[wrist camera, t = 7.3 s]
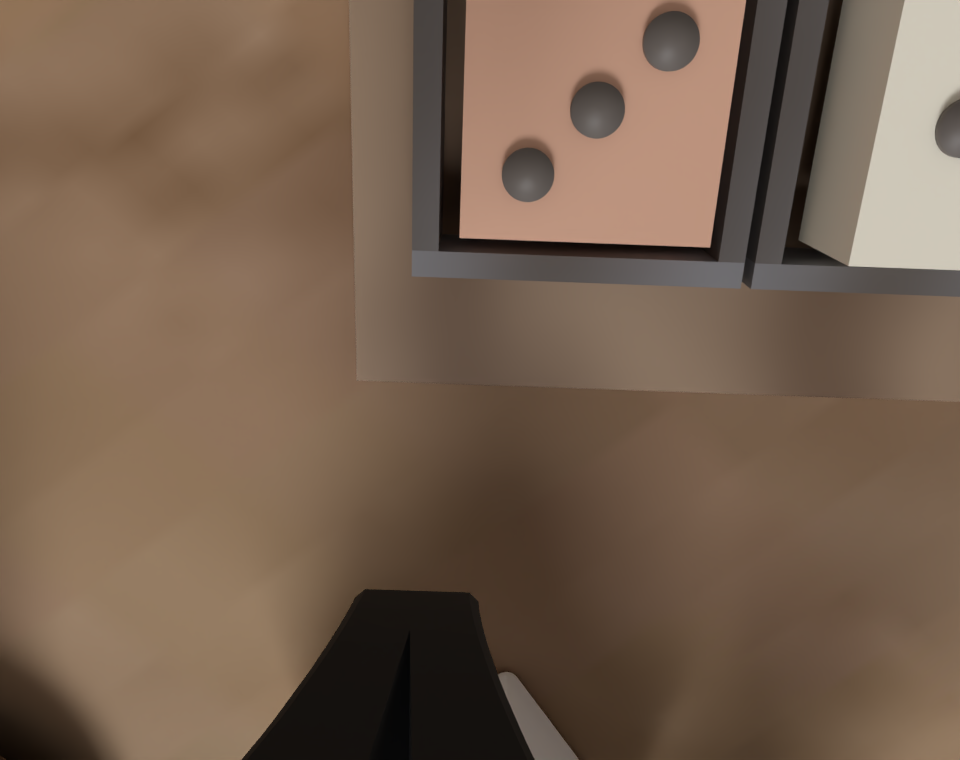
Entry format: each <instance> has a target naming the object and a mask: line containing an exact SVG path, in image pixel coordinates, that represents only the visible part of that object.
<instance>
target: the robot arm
mask: <svg viewBox="0 0 960 760" xmlns="http://www.w3.org/2000/svg"><path fill="white" fill-rule="evenodd" d="M242 760H535V759H534V757H533V755H532V753H531V751H530V749H529V747H528V745H527V742H526V740H525V738H524V736H523V733H522V731H521V729H520V727H519V724H518V722H517V720H516V717H515V715H514V713H513V711H512V708H511V706H510V704H509V701H508V699H507V697H506V694H505V692H504V689H503V687H502V684H501V682H500V679H499V677H498V674H497V671H496V668H495V665H494V662H493V659H492V657H491V654H490V651H489V648H488V644H487V641H486V638H485V634H484V630H483V627H482V622H481V617H480V613H479V605H478V601H477V600H476V599H475V598H474V597H473V596H472V595H471V594H470V593H465V592H433V591H401V590H369V589H365V590H364V591H363V592H361V593H360V594H359V595H358V596H357V597H356V598H355V599H354V601H353V603H352V605H351V607H350V609H349V610H348V612H347V614H346V616H345V617H344V619H343V621H342V622H341V624H340V626H339V627H338V629H337V631H336V632H335V634H334V635H333V637H332V638H331V640H330V642H329V643H328V645H327V646H326V648H325V649H324V651H323V652H322V654H321V655H320V657H319V658H318V660H317V661H316V663H315V664H314V665H313V667H312V668H311V670H310V671H309V673H308V674H307V675H306V677H305V678H304V680H303V681H302V682H301V684H300V685H299V686H298V688H297V689H296V690H295V692H294V693H293V695H292V696H291V697H290V699H289V700H288V701H287V703H286V704H285V706H284V707H283V708H282V710H281V711H280V712H279V714H278V715H277V716H276V718H275V719H274V720H273V722H272V723H271V724H270V726H269V727H268V728H267V729H266V731H265V732H264V733H263V734H262V736H261V737H260V738H259V739H258V740H257V742H256V743H255V744H254V745H253V747H252V748H251V749H250V750H249V751H248V753H247V754H246V755H245V756H244V757H243V759H242Z"/></svg>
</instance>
